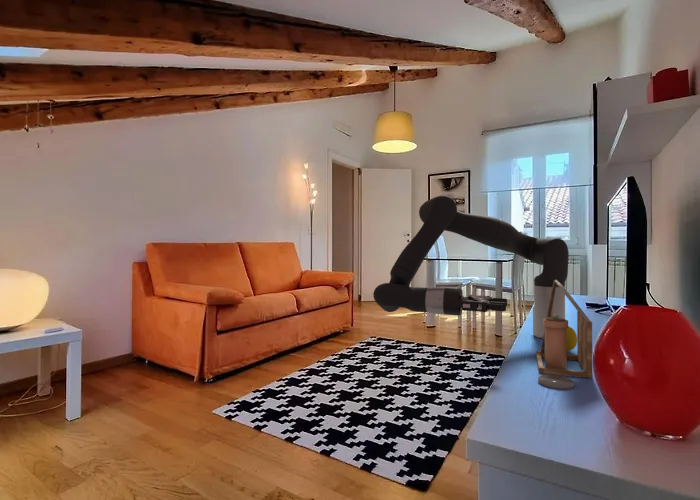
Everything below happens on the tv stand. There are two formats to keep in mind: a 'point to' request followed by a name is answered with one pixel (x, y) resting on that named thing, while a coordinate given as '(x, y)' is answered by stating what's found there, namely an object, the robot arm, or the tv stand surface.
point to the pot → (555, 342)
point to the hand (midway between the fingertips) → (506, 304)
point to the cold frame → (582, 342)
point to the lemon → (570, 339)
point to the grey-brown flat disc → (556, 382)
